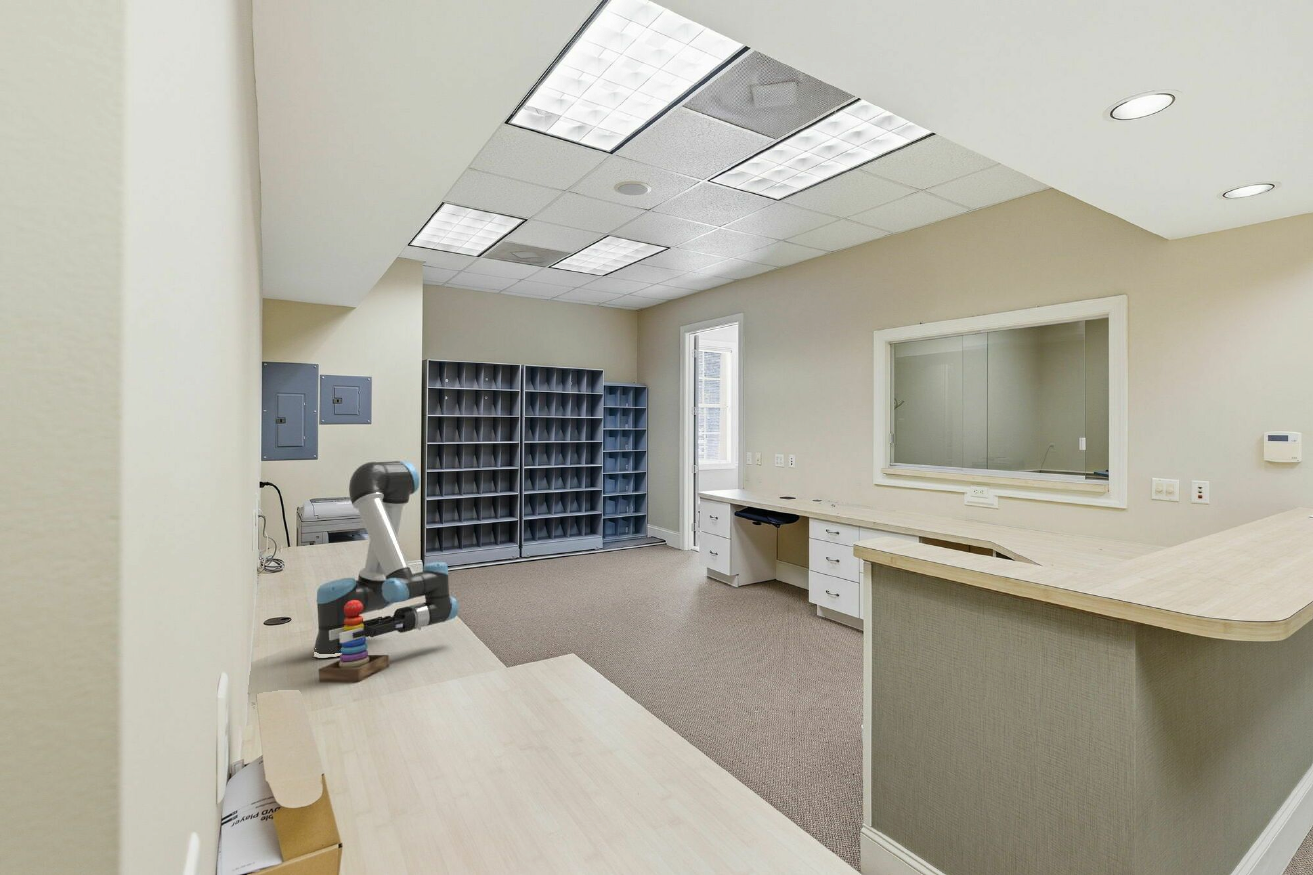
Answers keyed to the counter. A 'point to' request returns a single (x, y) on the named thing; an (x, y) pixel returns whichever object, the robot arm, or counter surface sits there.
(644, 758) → the counter surface
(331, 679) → the tray
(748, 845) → the counter surface
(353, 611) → the stacking toy
